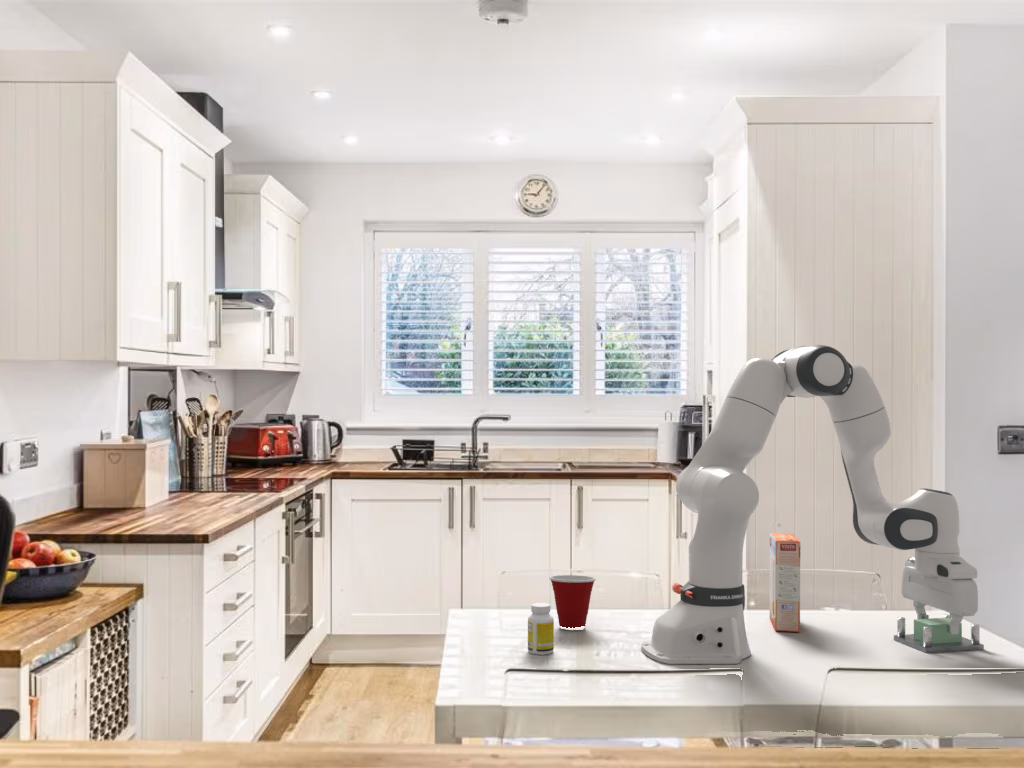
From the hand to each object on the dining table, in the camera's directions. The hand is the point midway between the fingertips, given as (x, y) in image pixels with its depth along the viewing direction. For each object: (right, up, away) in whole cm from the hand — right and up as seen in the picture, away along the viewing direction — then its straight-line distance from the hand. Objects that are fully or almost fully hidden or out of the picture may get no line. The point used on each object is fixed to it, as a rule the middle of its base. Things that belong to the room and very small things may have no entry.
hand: (937, 627), depth 190 cm
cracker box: (-28, -4, +16) cm, 33 cm away
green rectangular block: (0, -3, 0) cm, 3 cm away
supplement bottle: (-86, -3, -7) cm, 87 cm away
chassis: (0, -4, 0) cm, 4 cm away
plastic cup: (-78, -4, +13) cm, 80 cm away
